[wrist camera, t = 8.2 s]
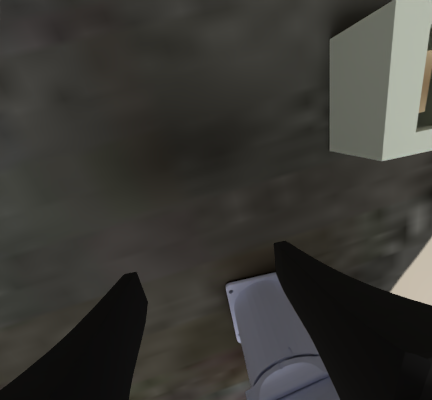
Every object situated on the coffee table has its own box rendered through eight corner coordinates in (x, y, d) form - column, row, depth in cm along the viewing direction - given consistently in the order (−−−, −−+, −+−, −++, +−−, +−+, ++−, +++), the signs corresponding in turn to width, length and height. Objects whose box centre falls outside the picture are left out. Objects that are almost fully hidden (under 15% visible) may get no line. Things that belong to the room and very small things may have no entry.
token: (380, 114, 20) (424, 111, 16) (359, 117, 20) (399, 116, 16) (385, 64, 18) (435, 49, 15) (363, 68, 18) (407, 54, 14)
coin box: (408, 134, 21) (490, 137, 15) (329, 150, 20) (382, 161, 15) (423, 21, 17) (533, -28, 12) (329, 39, 17) (396, -2, 12)
